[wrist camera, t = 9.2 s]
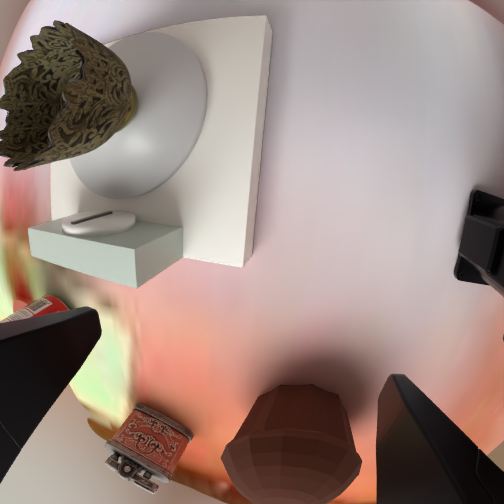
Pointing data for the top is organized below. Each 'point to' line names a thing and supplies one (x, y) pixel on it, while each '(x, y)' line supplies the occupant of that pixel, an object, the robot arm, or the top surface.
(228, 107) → the scale
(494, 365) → the top surface
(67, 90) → the ornate brown lamp shade
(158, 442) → the lighter
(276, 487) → the muffin
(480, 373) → the top surface
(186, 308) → the top surface
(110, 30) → the top surface
